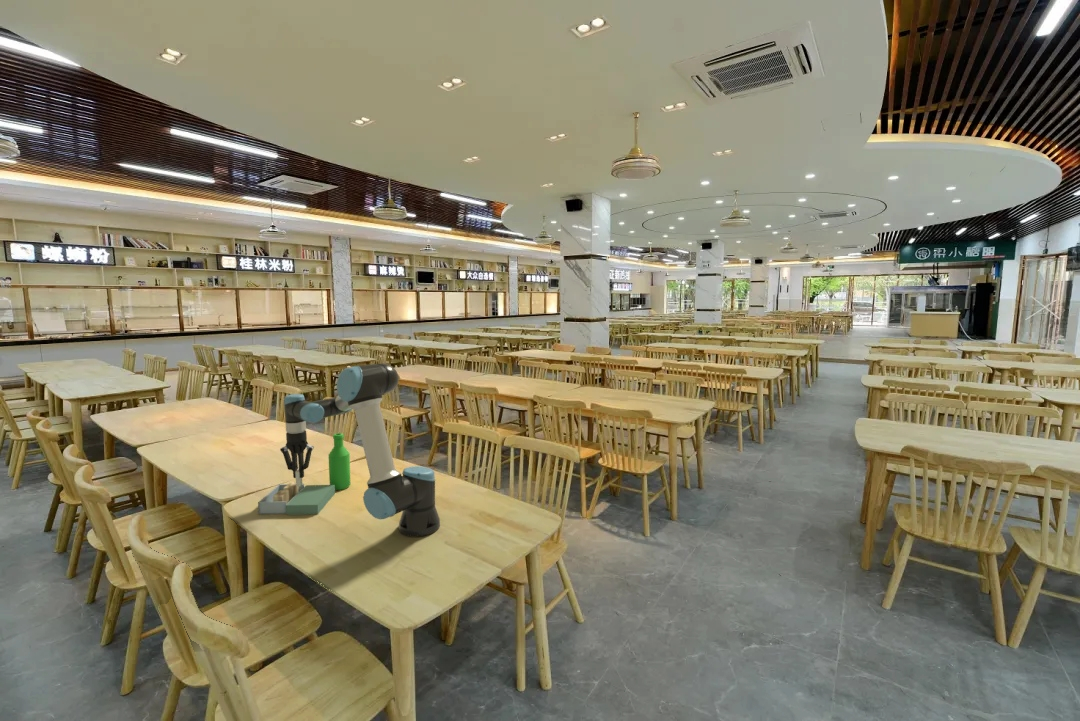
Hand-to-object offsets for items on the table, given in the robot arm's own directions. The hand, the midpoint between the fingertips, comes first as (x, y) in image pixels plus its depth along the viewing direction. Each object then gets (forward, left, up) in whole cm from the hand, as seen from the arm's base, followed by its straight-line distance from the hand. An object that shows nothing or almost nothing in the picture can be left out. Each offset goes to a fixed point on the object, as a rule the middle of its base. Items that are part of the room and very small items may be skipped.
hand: (299, 485), depth 196 cm
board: (-4, -6, -7) cm, 10 cm away
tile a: (-8, +2, -3) cm, 9 cm away
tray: (-4, +5, -7) cm, 9 cm away
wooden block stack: (0, +2, -3) cm, 4 cm away
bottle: (+13, -12, -7) cm, 19 cm away
